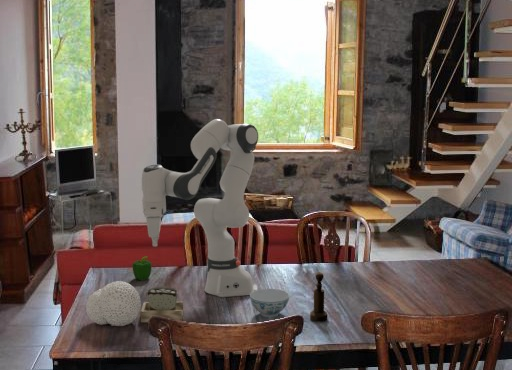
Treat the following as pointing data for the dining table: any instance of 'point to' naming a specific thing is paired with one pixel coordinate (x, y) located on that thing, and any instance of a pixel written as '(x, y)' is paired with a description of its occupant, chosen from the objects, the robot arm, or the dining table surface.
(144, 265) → the bell pepper
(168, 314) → the wooden tray
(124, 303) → the white bumpy round lump
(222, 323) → the dining table surface
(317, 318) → the pepper mill
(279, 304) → the chinaware
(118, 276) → the dining table surface
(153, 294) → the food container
